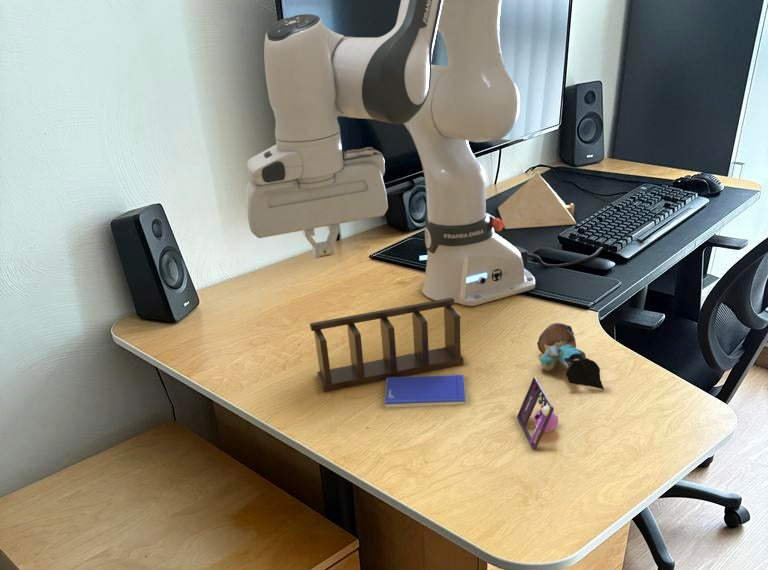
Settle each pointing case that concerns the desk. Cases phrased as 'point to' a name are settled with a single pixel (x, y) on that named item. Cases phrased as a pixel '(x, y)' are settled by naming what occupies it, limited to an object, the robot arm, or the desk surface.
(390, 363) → the letter rack
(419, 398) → the hard drive
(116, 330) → the desk surface
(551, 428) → the purple toy package
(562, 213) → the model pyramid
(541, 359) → the figurine
